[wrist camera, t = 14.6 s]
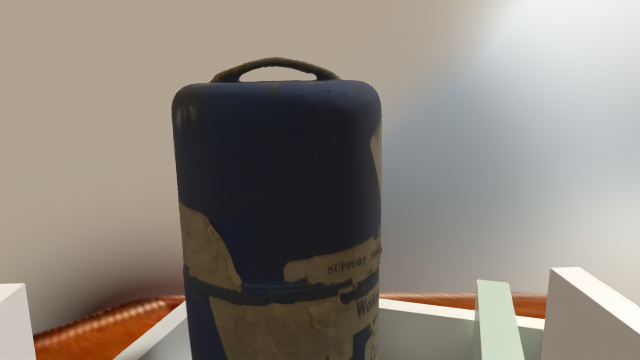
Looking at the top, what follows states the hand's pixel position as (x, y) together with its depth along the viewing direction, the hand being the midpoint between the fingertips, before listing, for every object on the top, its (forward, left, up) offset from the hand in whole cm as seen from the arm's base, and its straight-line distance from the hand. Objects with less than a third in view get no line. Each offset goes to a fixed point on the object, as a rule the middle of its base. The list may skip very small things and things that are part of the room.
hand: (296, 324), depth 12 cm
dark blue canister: (+4, -10, -11) cm, 16 cm away
